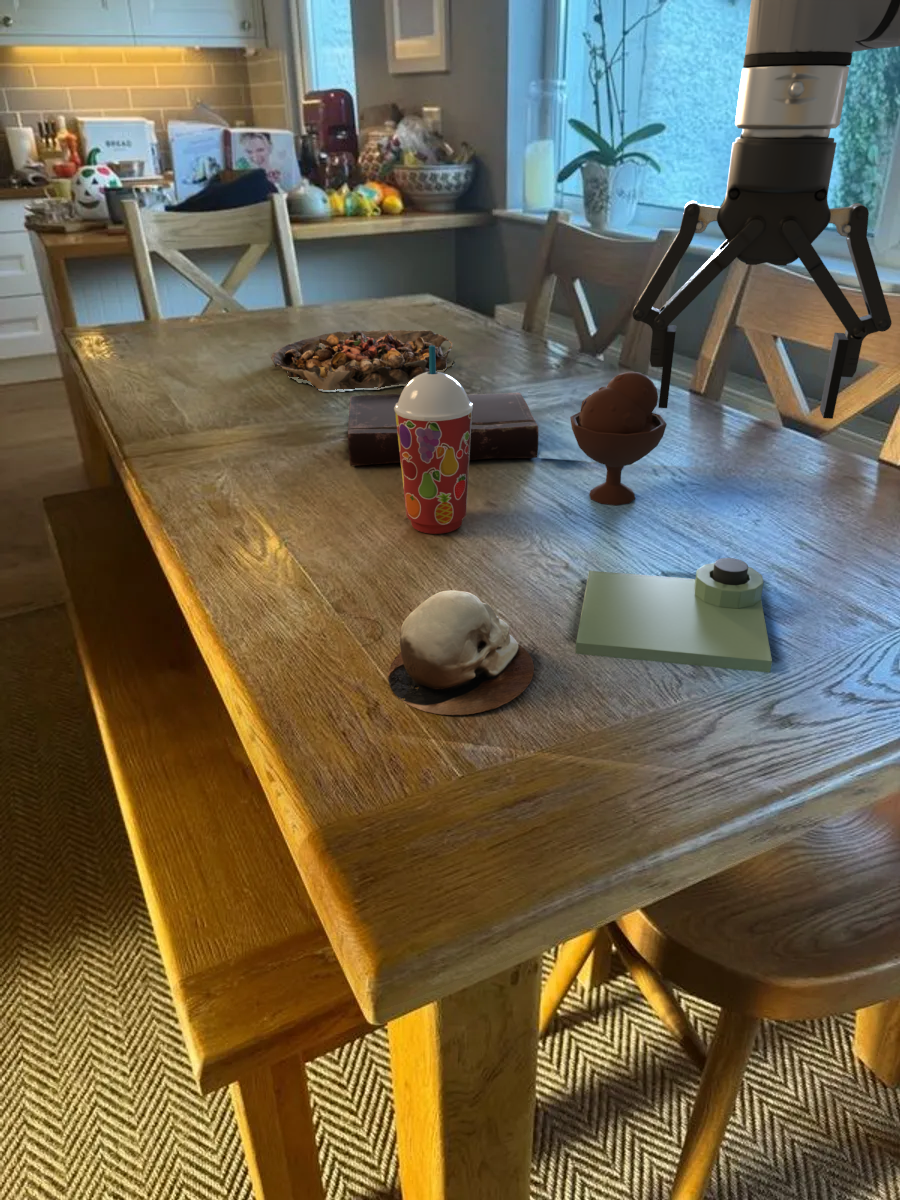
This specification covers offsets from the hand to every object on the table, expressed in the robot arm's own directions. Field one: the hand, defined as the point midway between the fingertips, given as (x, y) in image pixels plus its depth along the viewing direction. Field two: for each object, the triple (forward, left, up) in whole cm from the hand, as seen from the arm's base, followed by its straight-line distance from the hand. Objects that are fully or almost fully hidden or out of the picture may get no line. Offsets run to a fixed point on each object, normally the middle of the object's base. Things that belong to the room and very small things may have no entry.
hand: (743, 409), depth 78 cm
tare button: (-1, +2, -15) cm, 16 cm away
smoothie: (+30, -11, -18) cm, 37 cm away
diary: (+36, -39, -18) cm, 56 cm away
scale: (+4, +7, -18) cm, 20 cm away
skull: (+21, +19, -18) cm, 34 cm away
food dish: (+59, -79, -18) cm, 101 cm away
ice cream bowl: (+11, -23, -18) cm, 32 cm away
